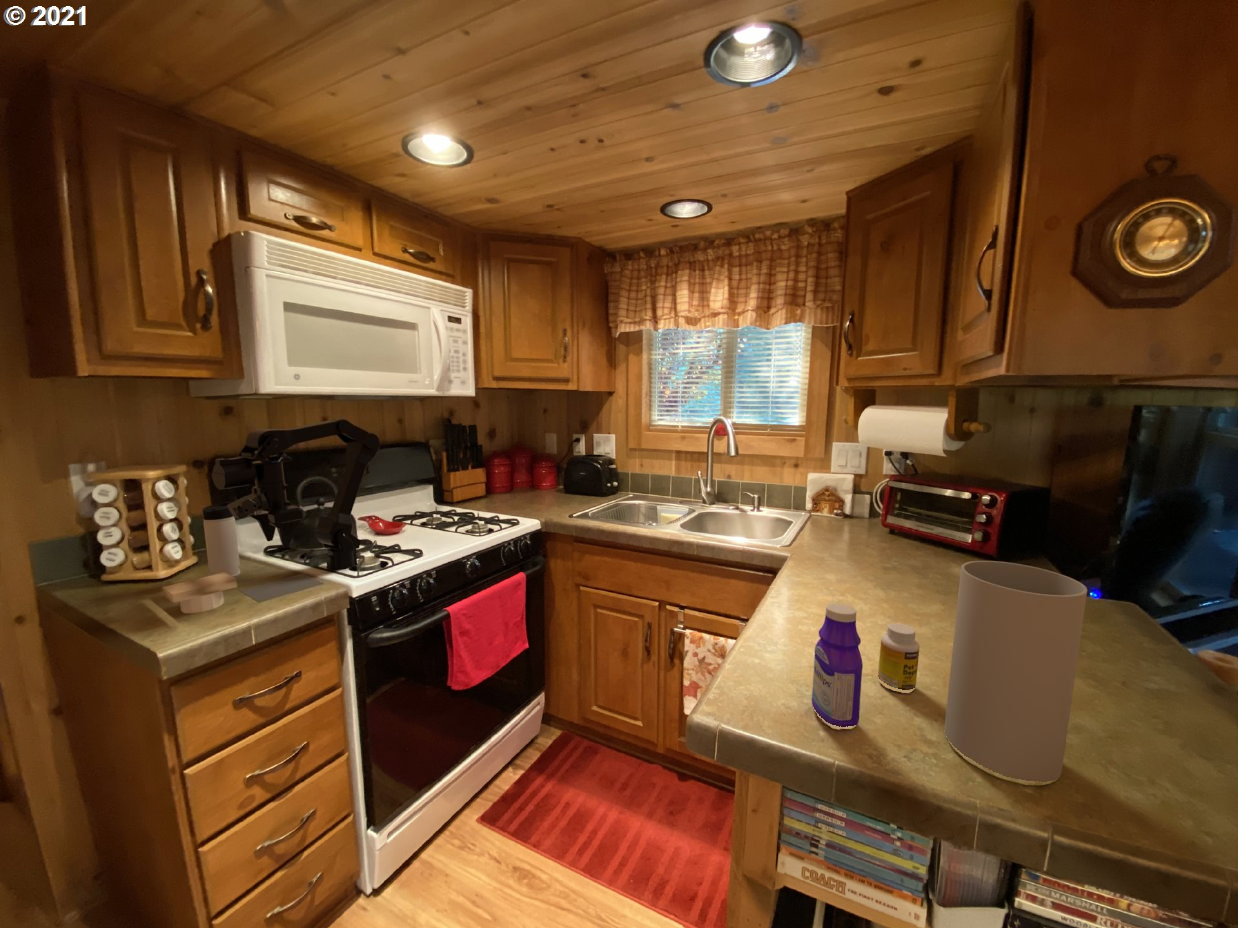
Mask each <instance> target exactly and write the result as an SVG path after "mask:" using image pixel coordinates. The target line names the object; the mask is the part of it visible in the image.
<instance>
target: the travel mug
mask: <svg viewBox="0 0 1238 928" xmlns="http://www.w3.org/2000/svg"><path fill="white" fill-rule="evenodd" d="M232 502H233V501H225V502H223V503H216V504H211V505H208V506H206V507H203V508H202V515H203V517H202V518H203V528H204V539H205V546H206V547H205V548H206V555H207V564H208V574H209V575H208V576H211V575H215V574H219V573H224V572H225V573H227V574H229V575H231V576H233V577H234V578H237V577H238V576H240V574H241V567H240V566H241V564H240V554H239V545H238V544H239V543H238V537H237V536H238V535H237V527H236V525H237V523H236V517H234V516H233V515H232V513H231V512H230V510H229V509H228V507H227V505H228V504H230V503H232Z"/></svg>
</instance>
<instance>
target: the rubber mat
mask: <svg viewBox="0 0 1238 928" xmlns="http://www.w3.org/2000/svg"><path fill="white" fill-rule="evenodd" d="M321 585H325V583H324V582H322V581H320V580H318V579H316V578H313V577H311V576H309V575H306V574H304V573H299V574H295V575H292V576H288V577H286V578H281V579H278V580H274V581H273V580H272V581H270V582H266V583H263V584H259V585H256V586H255V585H254V586H252V587H248V588H243V589H240V590H239V592H240V593H242V594H244V595H245V596H247V597H249V598H251V599H252V600H254V601H256V602H257V603H259V604H260V603H263V602H267V601H269V600H273V599H277V598H281V597H283V596H287V595H290V594H294V593H297V592H300V591H304V590H307V589H311V588H314V587H318V586H321Z"/></svg>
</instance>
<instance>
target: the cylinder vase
mask: <svg viewBox="0 0 1238 928" xmlns="http://www.w3.org/2000/svg"><path fill="white" fill-rule="evenodd" d="M957 595H958V596H957V602H956V603H957V605H956V611H955V614H956V615H955V624H954V633H953V641H952V653H951V661H950V662H951V663H950V671H949V681H948V689H947V699H946V700H947V701H946V709H945V721H944V726H943V727H944V728H943V729H944V730H945V732H944V735H945V734H946V736H947V738H948V739H949V741H950V742H951V743H952V745H953V746H954V747H955V748H957V750H959V751H960V752H961V753H962V754H964V756H966V757H968V758H970V759H972V760H973V761H975V762H976V763H978V764H979V765H982V766H983V767H985V768H988V769H989V770H992V771H993V772H996V773H999V774H1002V775H1003V776H1006V777H1011V778H1015V779H1021V780H1026V781H1035V782H1036V781H1039V782H1040V781H1041V782H1047V781H1054V780H1056V779H1058V778H1060V777H1061V776H1062V771H1063V766H1064V765H1063V764H1064V759H1065V758H1064V757H1065V750H1066V742H1067V736H1068V729H1069V722H1070V714H1071V708H1072V703H1073V702H1072V701H1073V694H1074V686H1075V680H1076V672H1077V668H1078V667H1077V665H1078V658H1079V651H1080V645H1081V637H1082V630H1083V624H1084V618H1085V617H1084V616H1085V608H1086V603H1087V595H1088V588H1087V586H1085V585H1084V584H1083V583H1082V582H1080V581H1078V580H1076V579H1074V578H1072V577H1070V576H1066V575H1064V574H1060V573H1058V572H1055V571H1051V570H1048V569H1044V568H1040V567H1036V566H1031V565H1027V564H1026V565H1025V564H1020V563H1014V562H1006V561H998V560H997V561H995V560H973V561H968V562H965V563H963V564H961V566H960V575H959V584H958V593H957ZM946 736H945V737H946ZM1060 775H1061V776H1060ZM1058 780H1059V779H1058Z"/></svg>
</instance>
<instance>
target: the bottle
mask: <svg viewBox="0 0 1238 928" xmlns="http://www.w3.org/2000/svg"><path fill="white" fill-rule="evenodd" d="M818 636H819V639H818V641H817V642H816V643H815V647H814V657H813V658H814V660H813V673H812V674H813V677H812V691H811V696H812V697H811V704H812V708H813V707H814V709H815V710H816V712H817V713H818V714H819V716H821V718H823V719H824V720H825V721H826V722H828V723H830V724H832V725H836V726H839V727H840V726H841V727H846V726H847V727H848V726H854V725H857V726H858V724H859V722H860V711H861V709H860V708H861V693H862V680H863V679H862V677H863V667H864V666H863V664H864V663H863V660H862V658H863V657H862V654H861V652H860V647H859V646H860V645H861V642H862V640H861V637H860V635H859V633H858V630H857V609H856V608H854V607H853V606H850V605H848V604H845V603H840V602H831V603H830V602H829V603H828V604H827V605H826V606H825V617H824V622H823V624H822V626H821V628H820V629H819V630H818ZM814 709H813V710H814Z"/></svg>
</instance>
